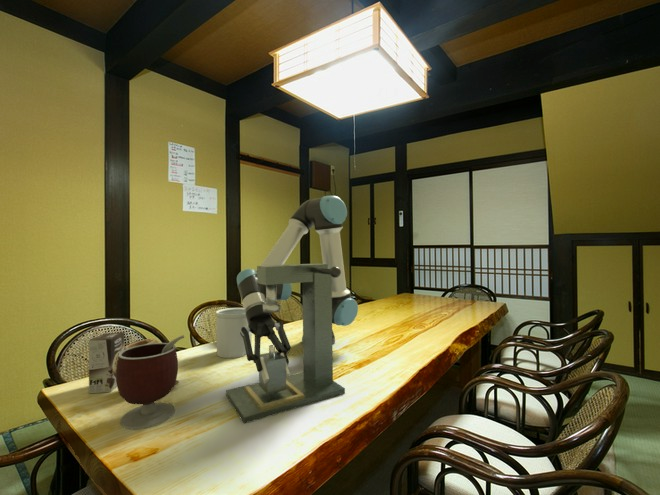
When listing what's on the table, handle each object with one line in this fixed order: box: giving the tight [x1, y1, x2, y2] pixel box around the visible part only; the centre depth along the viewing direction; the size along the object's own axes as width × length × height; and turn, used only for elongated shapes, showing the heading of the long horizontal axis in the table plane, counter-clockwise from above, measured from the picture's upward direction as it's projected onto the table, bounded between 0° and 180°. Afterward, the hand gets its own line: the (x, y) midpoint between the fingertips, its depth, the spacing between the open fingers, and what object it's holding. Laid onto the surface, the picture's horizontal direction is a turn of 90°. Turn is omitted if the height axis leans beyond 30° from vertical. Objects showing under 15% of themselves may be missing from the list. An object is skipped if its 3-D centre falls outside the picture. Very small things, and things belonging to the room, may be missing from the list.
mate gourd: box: [116, 334, 185, 431], centre depth 83 cm, size 16×14×20 cm
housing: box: [258, 344, 286, 394], centre depth 92 cm, size 6×7×12 cm
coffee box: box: [88, 331, 125, 394], centre depth 101 cm, size 9×6×16 cm
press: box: [225, 263, 346, 424], centre depth 91 cm, size 30×26×38 cm
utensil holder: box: [215, 307, 253, 359], centre depth 133 cm, size 15×15×18 cm
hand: (277, 378), depth 89 cm, fingers closed on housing, 5 cm apart
